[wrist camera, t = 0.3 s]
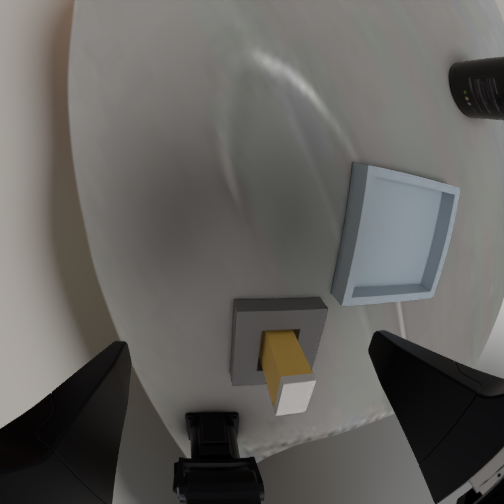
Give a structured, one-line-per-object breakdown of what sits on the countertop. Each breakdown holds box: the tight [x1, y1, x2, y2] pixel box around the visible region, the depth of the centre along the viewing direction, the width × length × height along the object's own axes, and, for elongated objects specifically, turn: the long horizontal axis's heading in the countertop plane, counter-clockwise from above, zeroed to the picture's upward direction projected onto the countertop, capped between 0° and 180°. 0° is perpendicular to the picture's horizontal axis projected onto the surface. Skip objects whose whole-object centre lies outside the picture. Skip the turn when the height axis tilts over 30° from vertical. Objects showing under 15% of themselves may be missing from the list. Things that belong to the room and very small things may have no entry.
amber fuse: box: [259, 329, 316, 416], centre depth 23 cm, size 4×2×8 cm, turn 175°
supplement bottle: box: [450, 57, 504, 120], centre depth 14 cm, size 7×7×12 cm
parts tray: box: [331, 163, 460, 306], centre depth 23 cm, size 12×12×2 cm
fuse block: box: [230, 298, 328, 386], centre depth 25 cm, size 9×8×2 cm
